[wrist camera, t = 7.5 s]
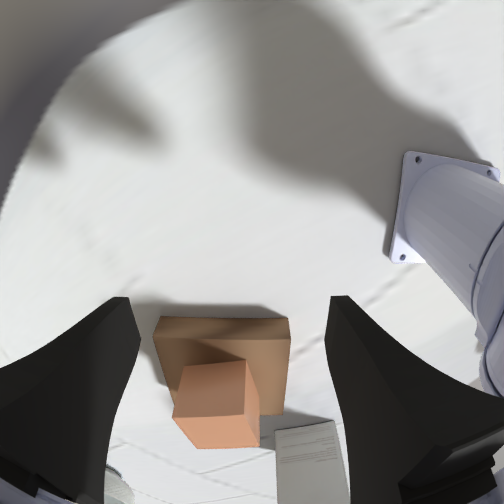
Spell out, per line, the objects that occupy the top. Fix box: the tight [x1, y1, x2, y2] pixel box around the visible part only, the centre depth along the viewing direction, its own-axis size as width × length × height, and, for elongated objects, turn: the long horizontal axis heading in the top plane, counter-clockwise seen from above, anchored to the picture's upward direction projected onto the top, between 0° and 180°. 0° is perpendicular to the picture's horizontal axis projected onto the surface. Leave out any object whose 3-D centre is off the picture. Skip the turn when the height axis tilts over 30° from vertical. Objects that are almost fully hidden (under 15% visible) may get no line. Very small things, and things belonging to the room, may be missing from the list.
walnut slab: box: [153, 316, 291, 415], centre depth 24 cm, size 10×10×3 cm
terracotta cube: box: [172, 360, 260, 449], centre depth 20 cm, size 5×5×5 cm
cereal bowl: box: [104, 467, 135, 504], centre depth 39 cm, size 17×17×7 cm
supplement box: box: [275, 421, 350, 504], centre depth 26 cm, size 7×7×13 cm
